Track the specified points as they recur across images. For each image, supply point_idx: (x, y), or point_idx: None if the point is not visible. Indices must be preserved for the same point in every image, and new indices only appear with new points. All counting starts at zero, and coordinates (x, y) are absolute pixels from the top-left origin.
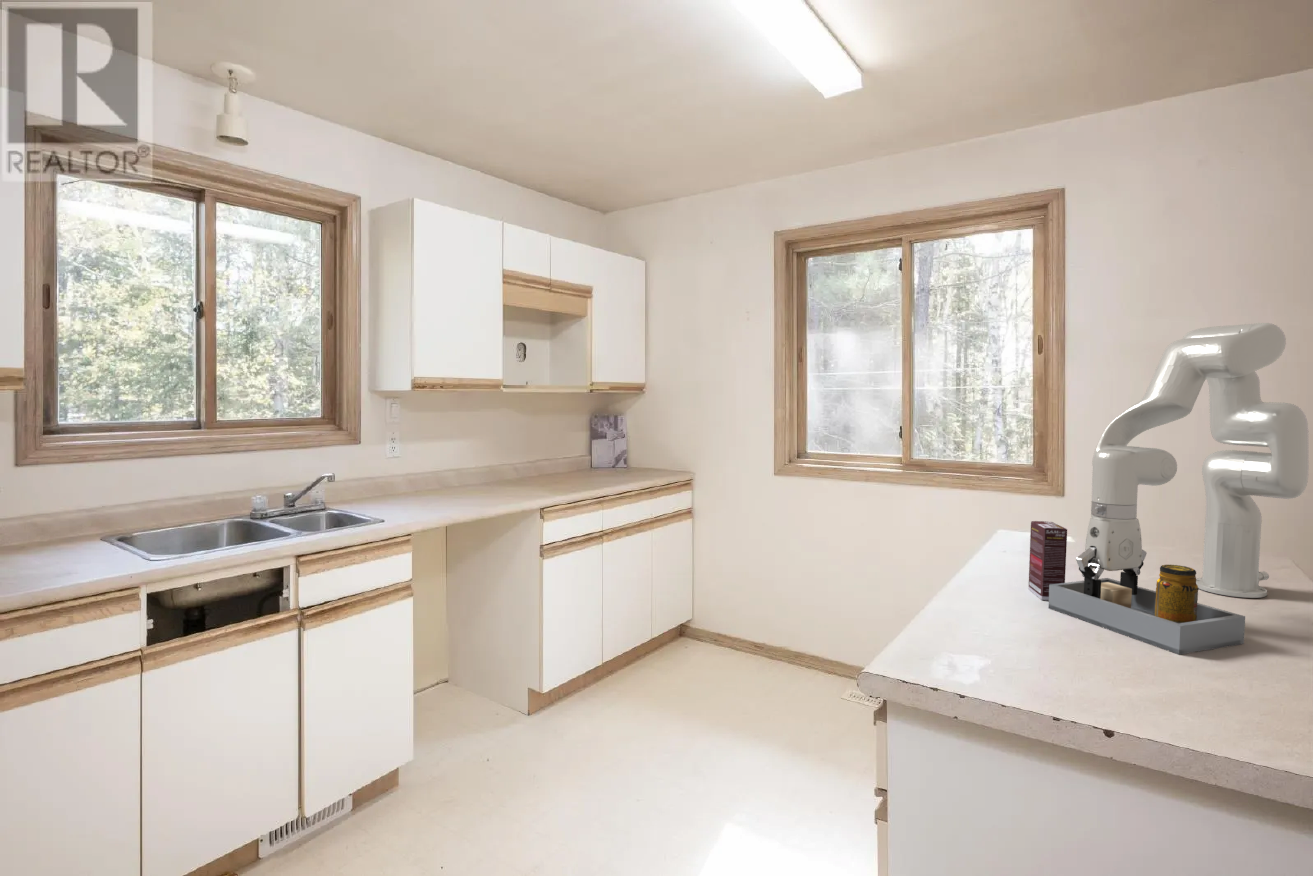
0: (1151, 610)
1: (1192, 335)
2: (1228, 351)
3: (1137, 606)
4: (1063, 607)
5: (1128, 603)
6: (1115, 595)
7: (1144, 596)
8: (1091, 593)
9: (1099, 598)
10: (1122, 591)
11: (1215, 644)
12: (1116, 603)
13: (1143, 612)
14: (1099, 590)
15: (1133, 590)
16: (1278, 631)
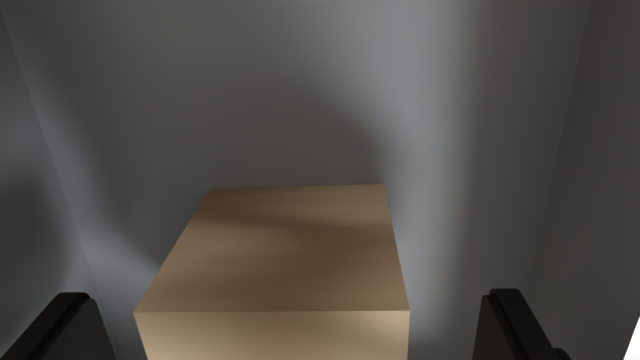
0: (44, 170)
1: None
2: None
3: (76, 253)
4: None
5: (215, 226)
6: (367, 277)
7: (2, 268)
8: (567, 355)
9: (507, 293)
10: (270, 300)
11: None
12: (348, 231)
13: (109, 177)
14: (549, 352)
15: (74, 323)
16: None
